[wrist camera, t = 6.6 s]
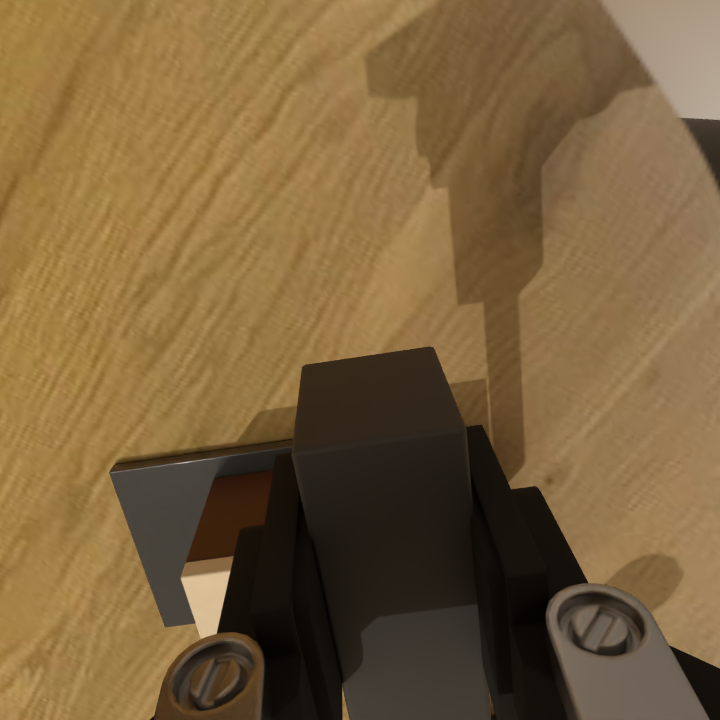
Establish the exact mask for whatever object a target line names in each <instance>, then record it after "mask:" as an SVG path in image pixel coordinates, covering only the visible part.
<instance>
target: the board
mask: <svg viewBox="0 0 720 720" xmlns="http://www.w3.org/2000/svg"><path fill="white" fill-rule="evenodd" d="M292 446H293V440H287V441H280V442H273V443H266V444H259V445H252V446H245V447H238V448H231V449H224V450H217V451H210V452H202V453H195V454H188V455H181V456H174V457H167V458H160V459H153V460H146V461H139V462H132V463H125V464H117V465H113V467H112V468H111V470H110V472H109V474H110V476H111V479H112V482H113V485H114V488H115V490H116V493H117V496H118V499H119V501H120V504H121V507H122V510H123V512H124V515H125V518H126V521H127V523H128V526H129V529H130V532H131V535H132V537H133V540H134V543H135V546H136V548H137V551H138V554H139V557H140V559H141V562H142V565H143V568H144V570H145V573H146V576H147V579H148V582H149V584H150V587H151V590H152V593H153V595H154V598H155V601H156V604H157V606H158V609H159V612H160V615H161V617H162V620H163V623H164V626H165V627H172V626H180V625H187V624H195V620H194V617H193V614H192V611H191V608H190V605H189V602H188V599H187V596H186V593H185V590H184V587H183V584H182V581H181V575H182V572H183V569H184V566H185V564H186V559H187V556H188V553H189V550H190V547H191V544H192V541H193V538H194V535H195V532H196V529H197V526H198V523H199V520H200V517H201V514H202V511H203V508H204V505H205V502H206V499H207V496H208V493H209V490H210V487H211V484H212V481H213V479H214V478H221V477H228V476H236V475H243V474H250V473H257V472H264V471H271V470H273V469H274V462H275V457H276V454H279V453H286V452H292Z"/></svg>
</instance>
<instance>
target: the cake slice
mask: <svg viewBox="0 0 720 720" xmlns="http://www.w3.org/2000/svg"><path fill="white" fill-rule="evenodd" d="M272 475H273V470H271V471H264V472H257V473H250V474H243V475H236V476H228V477H221V478H214V479H213V481H212V484H211V487H210V490H209V493H208V496H207V499H206V502H205V505H204V508H203V511H202V514H201V517H200V520H199V523H198V526H197V529H196V532H195V535H194V538H193V541H192V544H191V547H190V550H189V553H188V556H187V559H186V564H185V566H184V569H183V572H182V575H181V581H182V584H183V587H184V590H185V593H186V596H187V599H188V602H189V605H190V608H191V611H192V614H193V617H194V620H195V623H196V626H197V629H198V632H199V635H200V638H201V639H203V638H205V637H208V636H211V635H215V634H217V629H218V625H219V620H220V616H221V611H222V607H223V602H224V598H225V593H226V589H227V584H228V579H229V575H230V570H231V566H232V561H233V557H234V552H235V548H236V543H237V539H238V535H239V532H240V529H241V528H242V527H248V526H255V525H262V524H264V523H265V517H266V511H267V505H268V499H269V493H270V487H271V481H272Z"/></svg>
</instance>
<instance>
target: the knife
mask: <svg viewBox="0 0 720 720" xmlns="http://www.w3.org/2000/svg"><path fill="white" fill-rule="evenodd" d="M292 459H293V463H294V468H295V473H296V477H297V482H298V486H299V491H300V495H301V500H302V505H303V509H304V514H305V518H306V523H307V527H308V532H309V536H310V539H311V543H312V547H313V552H314V556H315V561H316V566H317V570H318V575H319V579H320V584H321V588H322V593H323V598H324V602H325V607H326V611H327V616H328V621H329V625H330V630H331V634H332V639H333V644H334V648H335V653H336V657H337V662H338V667H339V671H340V676H341V680H342V687H343V692H344V696H345V701H346V705H347V710H348V714H349V719H350V720H491V712H490V700H489V689H488V684H487V680H486V676H485V672H484V668H483V661H482V650H481V638H480V627H479V615H478V604H477V592H476V580H475V569H474V557H473V546H472V534H471V523H470V520H471V519H473V516H474V513H473V501H472V489H471V478H470V466H469V454H468V442H467V431H466V427H465V424H464V422H463V419H462V417H461V414H460V412H459V409H458V407H457V404H456V402H455V399H454V397H453V394H452V392H451V389H450V387H449V384H448V382H447V379H446V377H445V374H444V372H443V369H442V367H441V364H440V362H439V359H438V357H437V354H436V352H435V350H434V348H433V347H423V348H417V349H410V350H403V351H396V352H390V353H383V354H376V355H369V356H362V357H356V358H349V359H342V360H335V361H328V362H322V363H315V364H308V365H304V366H303V367H302V371H301V380H300V388H299V396H298V405H297V413H296V421H295V430H294V438H293V446H292Z"/></svg>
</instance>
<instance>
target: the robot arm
mask: <svg viewBox="0 0 720 720" xmlns="http://www.w3.org/2000/svg"><path fill="white" fill-rule="evenodd" d="M466 431H467V442H468V454H469V466H470V478H471V489H472V501H473V513H474V516H473V519H471V520H470V523H471V534H472V546H473V557H474V569H475V580H476V592H477V604H478V615H479V627H480V638H481V650H482V661H483V668H484V672H485V676H486V680H487V684H488V688H489V691H490V695H491V699H492V703H493V707H494V711H495V715H496V718H497V720H720V668H717V667H715V666H713V665H711V664H709V663H706V662H704V661H702V660H700V659H698V658H695V657H693V656H691V655H689V654H687V653H685V652H682V651H680V650H678V649H676V648H674V647H671V646H669V645H668V643H667V641H666V639H665V637H664V636H663V634H662V632H661V630H660V628H659V627H658V625H657V623H656V621H655V619H654V617H653V616H652V615H651V613H650V612H649V611H648V609H647V608H646V607H645V606H644V604H643V603H641V602H640V601H639V600H637V599H636V598H635V597H633V596H632V595H631V594H629V593H626V592H624V591H622V590H620V589H618V588H616V587H612V586H607V585H603V584H594V583H588V581H587V579H586V578H585V576H584V574H583V572H582V570H581V568H580V566H579V564H578V562H577V560H576V558H575V556H574V555H573V553H572V551H571V549H570V547H569V545H568V543H567V541H566V539H565V537H564V535H563V533H562V532H561V530H560V528H559V526H558V524H557V522H556V520H555V518H554V516H553V514H552V512H551V510H550V509H549V507H548V505H547V503H546V501H545V499H544V497H543V495H542V493H541V492H540V490H539V489H538V488H537V487H536V486H533V487H526V488H519V489H512V490H511V488H510V486H509V484H508V482H507V479H506V477H505V475H504V473H503V470H502V468H501V466H500V464H499V462H498V459H497V457H496V455H495V453H494V450H493V448H492V446H491V444H490V441H489V439H488V437H487V435H486V433H485V430H484V428H483V426H482V425H475V426H468V427H466ZM150 720H342V680H341V676H340V671H339V667H338V662H337V657H336V653H335V648H334V644H333V639H332V634H331V630H330V625H329V621H328V616H327V611H326V607H325V602H324V598H323V593H322V588H321V584H320V579H319V575H318V570H317V566H316V561H315V556H314V552H313V547H312V543H311V539H310V536H309V532H308V527H307V523H306V518H305V514H304V509H303V505H302V500H301V495H300V491H299V486H298V482H297V477H296V473H295V468H294V463H293V459H292V452H286V453H279V454H276V457H275V462H274V469H273V475H272V481H271V487H270V493H269V499H268V505H267V511H266V517H265V523H264V524H262V525H255V526H248V527H242V528H241V529H240V532H239V535H238V539H237V543H236V548H235V552H234V557H233V561H232V566H231V570H230V575H229V579H228V584H227V589H226V593H225V598H224V602H223V607H222V611H221V616H220V620H219V625H218V629H217V634H215V635H211V636H208V637H205V638H203V639H201V640H199V641H197V642H196V643H194V644H192V645H190V646H189V647H188V648H187V649H186V650H184V651H183V652H182V653H181V654H180V655H178V657H177V658H176V659H175V660H174V662H173V663H172V664H171V666H170V667H169V668H168V671H167V673H166V675H165V678H164V680H163V683H162V687H161V691H160V695H159V699H158V703H157V707H156V711H155V715H154V717H152V718H151V719H150Z"/></svg>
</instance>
